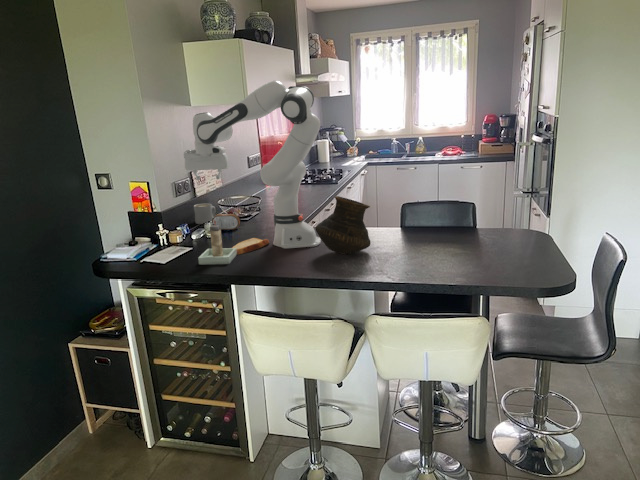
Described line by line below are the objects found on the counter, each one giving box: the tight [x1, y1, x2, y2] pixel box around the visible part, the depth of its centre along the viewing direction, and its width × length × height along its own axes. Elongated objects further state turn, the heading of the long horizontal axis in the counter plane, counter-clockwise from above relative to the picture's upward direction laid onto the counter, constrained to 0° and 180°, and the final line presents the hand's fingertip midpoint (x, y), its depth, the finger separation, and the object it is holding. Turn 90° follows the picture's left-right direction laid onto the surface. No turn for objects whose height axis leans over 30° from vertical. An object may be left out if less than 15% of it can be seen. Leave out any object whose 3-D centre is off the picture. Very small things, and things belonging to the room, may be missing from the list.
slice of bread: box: [231, 237, 270, 256], centre depth 223 cm, size 18×18×4 cm
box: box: [197, 247, 237, 265], centre depth 208 cm, size 13×13×3 cm
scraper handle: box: [209, 224, 223, 257], centre depth 206 cm, size 4×4×14 cm
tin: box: [211, 213, 241, 231], centre depth 260 cm, size 15×3×8 cm, turn 84°
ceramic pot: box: [314, 195, 371, 256], centre depth 205 cm, size 24×23×25 cm
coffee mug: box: [193, 202, 217, 225], centre depth 280 cm, size 13×10×10 cm
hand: (208, 179), depth 225 cm, fingers open, 8 cm apart
